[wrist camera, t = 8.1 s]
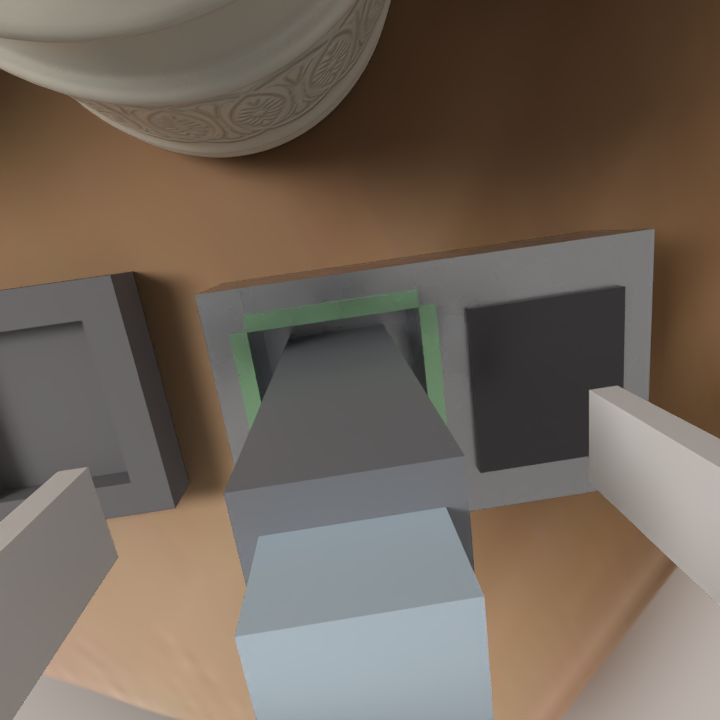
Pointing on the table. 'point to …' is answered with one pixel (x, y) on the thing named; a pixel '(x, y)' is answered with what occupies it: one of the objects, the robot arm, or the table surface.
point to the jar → (196, 64)
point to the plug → (356, 543)
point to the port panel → (466, 345)
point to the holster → (85, 396)
